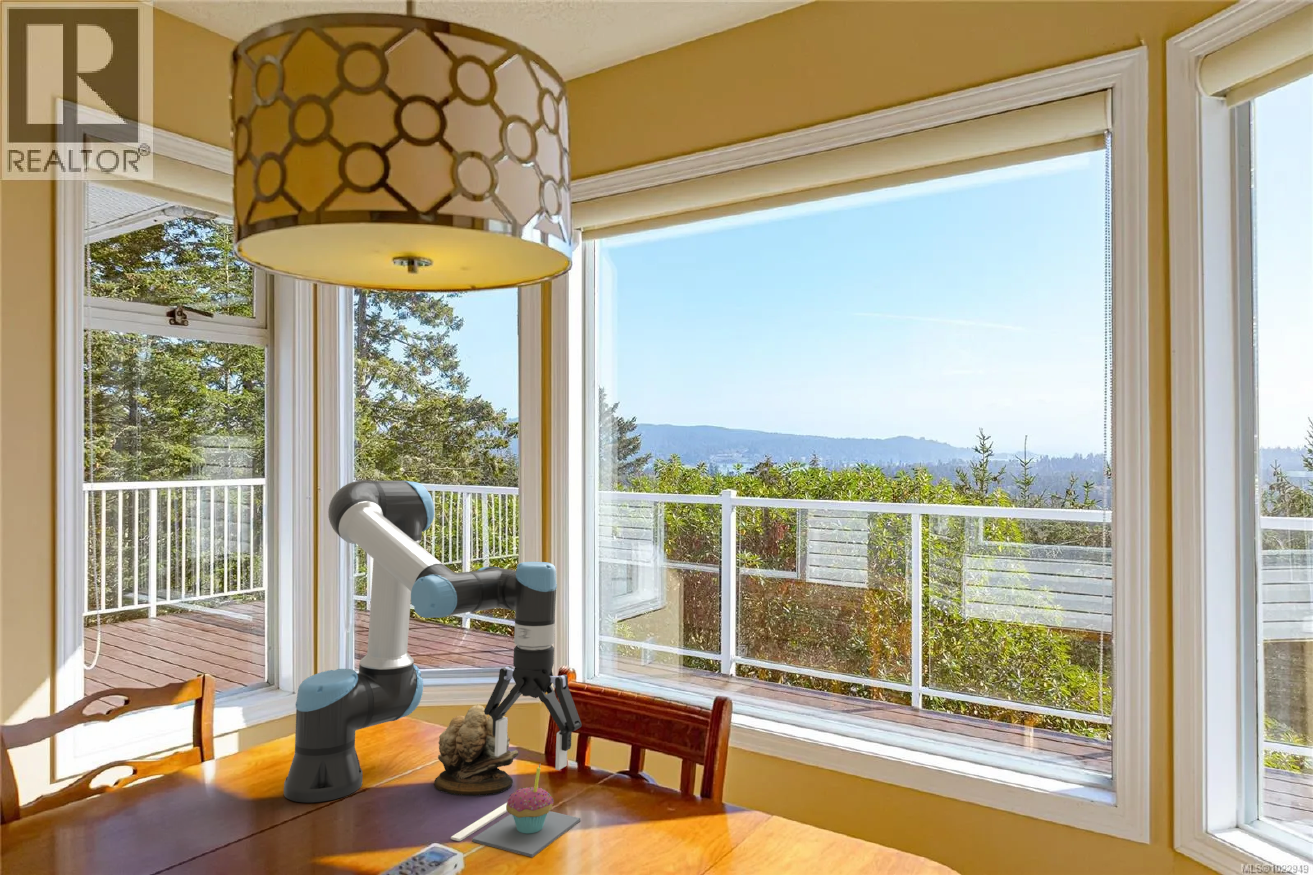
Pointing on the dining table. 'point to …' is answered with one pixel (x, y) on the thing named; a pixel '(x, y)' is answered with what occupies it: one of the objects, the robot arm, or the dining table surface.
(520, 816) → the cupcake
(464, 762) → the owl figurine
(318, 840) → the dining table surface
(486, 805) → the dining table surface
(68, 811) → the dining table surface
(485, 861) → the dining table surface
